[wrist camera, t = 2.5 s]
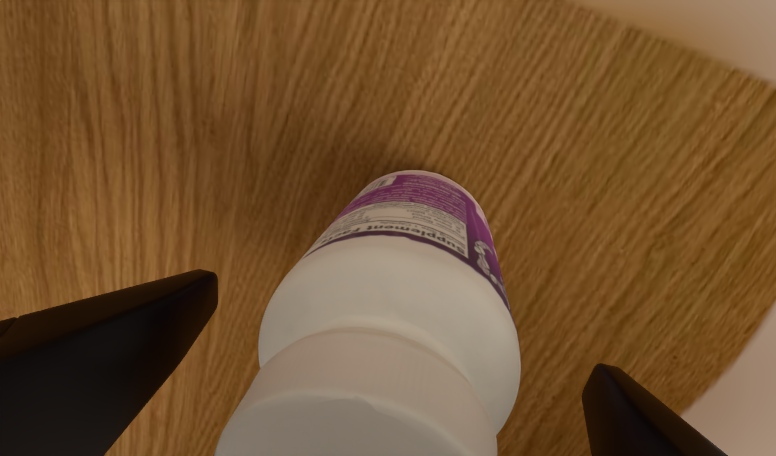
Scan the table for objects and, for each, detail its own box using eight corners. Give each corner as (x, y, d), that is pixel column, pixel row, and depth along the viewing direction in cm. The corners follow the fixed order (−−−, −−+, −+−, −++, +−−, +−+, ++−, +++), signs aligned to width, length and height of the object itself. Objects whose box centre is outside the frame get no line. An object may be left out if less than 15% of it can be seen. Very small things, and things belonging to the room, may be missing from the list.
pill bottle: (481, 306, 14) (527, 667, 6) (347, 293, 15) (200, 593, 6) (498, 167, 12) (610, 385, 4) (342, 161, 13) (117, 326, 4)
